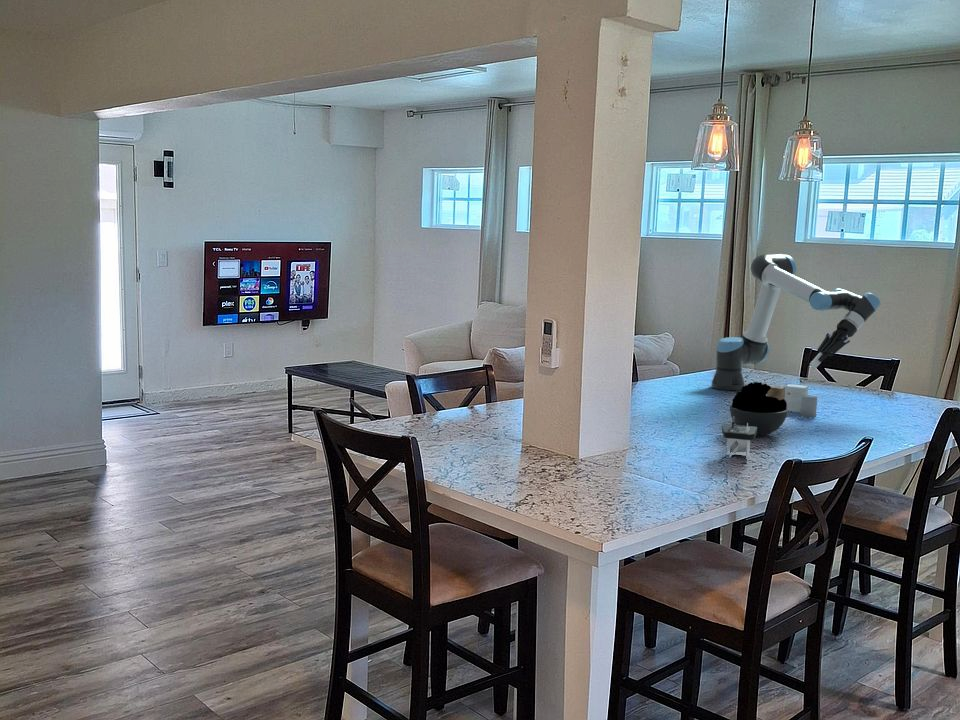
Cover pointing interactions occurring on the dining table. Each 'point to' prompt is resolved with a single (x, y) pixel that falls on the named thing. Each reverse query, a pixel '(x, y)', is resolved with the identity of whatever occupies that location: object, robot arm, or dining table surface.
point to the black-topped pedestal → (738, 436)
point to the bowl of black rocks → (758, 408)
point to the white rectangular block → (808, 406)
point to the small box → (794, 396)
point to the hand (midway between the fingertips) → (812, 366)
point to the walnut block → (777, 392)
